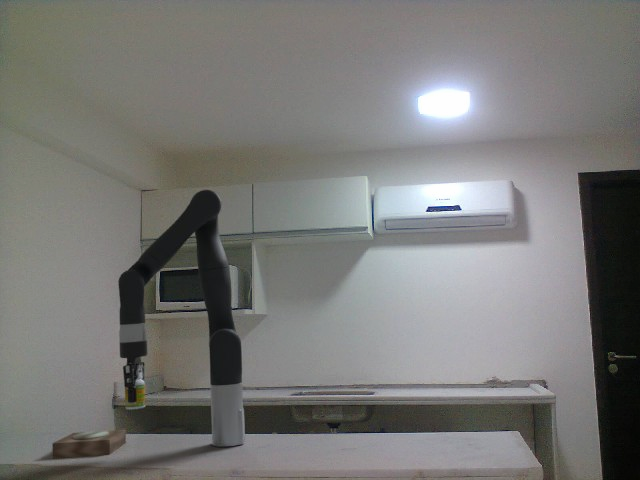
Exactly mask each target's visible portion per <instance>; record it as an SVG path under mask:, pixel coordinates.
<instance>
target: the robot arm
mask: <svg viewBox="0 0 640 480" xmlns="http://www.w3.org/2000/svg"><path fill="white" fill-rule="evenodd" d="M221 211H222V199H221V197H220V195H219V194H218V193H216V191H214V190H211V189H202V190H199V191H197V192H196V193H195V194H194V195H192V197H191V200H190V202H189V204H188V205H187V206H186V208H185V209H184V211H183V212H182V213H181V214H180V215H179V216H178V218H177V219H176V220H175V221H174V222H173V223H171V226H169V227H168V228H167V229H166V230H165V231H164V232H163V233H162V234H161V235H159V236H158V238H156V240H155V241H153V242H152V244H150V246H148V247H147V248H146V249H145V250H144V251H143V253H142V254H141V255H140V256H139V258H138V260H137V261H136V262H134V263H133V264H132V265H131V267H129V268H128V269H127V270H125V271H124V272H122V273H121V274H120V276H119V278H118V281H117V282H118V292H119V304H120V306H119V332H118V334H119V335H118V337H119V338H118V339H119V342H118V343H119V357H120V358H121V359H126V364H125V365H123V366H122V369H123V370H122V371H123V383H124V385H123V386H124V388H125V387H126V388H127V389H128V402H129V403H133V402H136V401H137V393H136V387H137V380H139V372H141V373H142V378H141V380H143V381H144V382H145V365H146V364H145V362H144V361H142V357H147V356H148V337H147V336H148V334H147V324H146V310H145V304H144V303H145V286H146V285H147V284H149V282H150V281H151V280H152V278H153V277H154V276H155V275H156V274H157V273H159V272H160V271H161V270H162V269H163V268H164V267H165V266H166V265H167V264H168V263H169V262H170V261H171V259H173V257H175V255H176V254H177V253H178V251H179V250H181V249H182V247H183V246H184V244H185V243H186V242H187V241H188V240H189V238H190V237H191V236H192V235H193V234H195V235H194V236H195V240H196V242H195V243H196V259H197V260H196V261H197V270H198V280H199V283H200V284H199V285H200V289H201V293H202V298H203V302H204V305H205V310H206V314H207V319H208V321H207V322H208V332H209V333H208V336H209V337H208V347H209V377H210V378H209V379H210V412H211V441H212V446H214V447H233V446H234V447H235V446H238V445H244V443H245V442H246V432H245V431H246V430H245V429H246V428H245V427H246V426H245V409H244V405H243V404H244V402H243V401H244V399H243V356H242V354H243V353H242V341H241V338H240V336H239V334H238V333H237V331H236V330H237V329H236V326H235V321H234V317H233V312H232V299H233V298H232V295H233V294H232V279H231V272H230V266H229V265H230V264H229V261H228V258H227V254H226V252H225V249H224V247H223V242H222V241H221V238H220V237H221V236H220V229H219V215H220V212H221ZM134 376H135V377H134ZM130 381H131V382H130Z"/></svg>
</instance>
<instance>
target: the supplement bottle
mask: <svg viewBox="0 0 640 480" xmlns="http://www.w3.org/2000/svg"><path fill="white" fill-rule="evenodd" d="M134 377H135V376H134ZM141 378H142V373H141V372H139V380H137V387H136V393H137V401H136V402H133V403H129V402H128V389H127V388H126V387H125V386H124V396H125V397H124V404H125V410H139V409H143V408H145V407H146V385H145V380H144V381H143V380H141ZM130 382H131V381H130Z"/></svg>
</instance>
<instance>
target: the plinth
mask: <svg viewBox="0 0 640 480" xmlns="http://www.w3.org/2000/svg"><path fill="white" fill-rule="evenodd" d="M126 437H127V431H126V429H115V430H97V431H96V430H95V431H81V432H72V433H71V434H68V435H67V436H65V437H63V438H61V439H58V440H57V441H54V442H53V443H52V449H51V450H52V459H55V458H56V459H57V457H61V458H75V457H89V456H91V457H92V456H105V455H106V456H107V455H111V454H112V453H113V452H115V451H116V450H118V449H120V448H121V447H122V446H124V445H125V444H126V443H127V441H126V440H127V438H126ZM123 444H124V445H123Z"/></svg>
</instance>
